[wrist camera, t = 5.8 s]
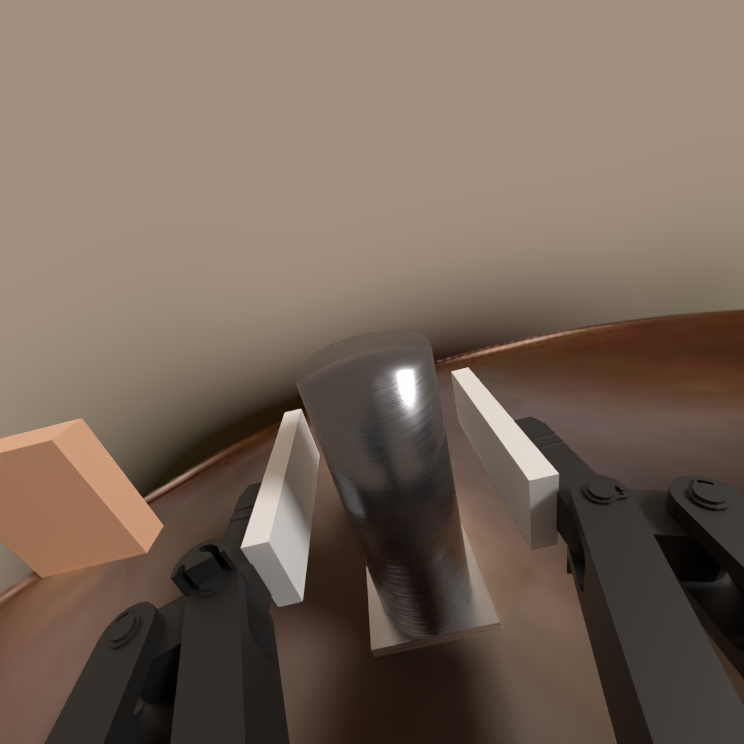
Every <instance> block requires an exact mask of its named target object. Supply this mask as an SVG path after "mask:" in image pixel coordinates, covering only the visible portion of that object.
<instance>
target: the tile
mask: <svg viewBox="0 0 744 744" xmlns="http://www.w3.org/2000/svg"><path fill="white" fill-rule="evenodd" d="M162 527H163V524H162V523H161V522H160V520H159V519H158V518H157V516H156V515H155V514H154V512H153V511H152V510H151V509H150V507H149V506H148V505H147V503H146V502H145V501H144V499H143V498H142V497H141V495H140V494H139V493H138V492H137V490H136V489H135V488H134V486H133V485H132V484H131V482H130V481H129V480H128V478H127V477H126V476H125V475H124V473H123V472H122V470H121V469H120V468H119V467H118V465H117V464H116V463H115V461H114V460H113V459H112V457H111V456H110V455H109V454H108V452H107V451H106V449H105V448H104V447H103V445H102V444H101V443H100V442H99V440H98V439H97V438H96V436H95V435H94V434H93V432H92V431H91V430H90V428H89V427H88V426H87V425H86V423H85V422H84V421H83V419H82V418H80V419H76V420H73V421H68V422H64V423H60V424H56V425H53V426H49V427H45V428H40V429H36V430H32V431H29V432H25V433H21V434H17V435H13V436H9V437H5V438H1V439H0V541H1V542H2V543H3V544H5V545H6V546H7V547H8V548H9V549H10V550H11V551H12V552H13V553H15V554H16V555H17V556H18V557H19V558H20V559H21V560H23V561H24V562H25V563H26V564H27V565H28V566H29V567H30V568H31V569H33V570H34V571H35V572H36V573H37V574H38V575H39V576H40V577H41V578H43V577H48V576H52V575H56V574H60V573H65V572H69V571H73V570H77V569H82V568H86V567H90V566H94V565H99V564H103V563H107V562H111V561H116V560H120V559H124V558H128V557H133V556H137V555H141V554H145V553H147V552H148V550H149V549H150V547H151V546H152V544H153V542H154V541H155V539H156V537H157V536H158V534H159V532H160V531H161V529H162Z"/></svg>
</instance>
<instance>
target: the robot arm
mask: <svg viewBox="0 0 744 744" xmlns="http://www.w3.org/2000/svg"><path fill="white" fill-rule="evenodd" d="M451 374H452V380H453V387H454V394H455V401H456V408H457V415H458V422H459V424H460V425H461V427H462V429H463V431H464V432H465V434H466V436H467V438H468V440H469V441H470V443H471V445H472V447H473V448H474V450H475V452H476V454H477V455H478V457H479V459H480V461H481V462H482V464H483V466H484V468H485V469H486V471H487V473H488V475H489V476H490V478H491V480H492V482H493V483H494V485H495V487H496V489H497V490H498V492H499V494H500V496H501V497H502V499H503V501H504V503H505V504H506V506H507V508H508V510H509V511H510V513H511V515H512V517H513V518H514V520H515V522H516V524H517V525H518V527H519V529H520V531H521V532H522V534H523V536H524V538H525V540H526V541H527V543H528V545H529V547H530V548H531V550H533V549H538V548H542V547H546V546H551V545H555V544H557V541H558V532H559V533H560V535H561V536H562V538H563V539H564V541H565V542H566V543H567V545H568V549H567V573H570V574H573V578H574V582H575V586H576V589H577V593H578V597H579V601H580V605H581V608H582V612H583V616H584V620H585V623H586V627H587V631H588V635H589V639H590V642H591V646H592V650H593V654H594V658H595V661H596V665H597V669H598V673H599V677H600V680H601V684H602V688H603V692H604V696H605V699H606V703H607V707H608V711H609V714H610V718H611V722H612V726H613V730H614V733H615V737H616V741H617V744H744V705H743V703H742V701H741V699H740V697H739V695H738V694H737V692H736V690H735V688H734V686H733V684H732V682H731V680H730V678H729V677H728V675H727V673H726V671H725V669H724V667H723V665H722V663H721V661H720V660H719V658H718V656H717V654H716V652H715V650H714V648H713V646H712V644H711V643H710V641H709V639H708V637H707V635H706V633H705V631H704V629H705V630H706V631H707V632H708V634H709V635H710V636H711V638H712V639H713V640H714V641H715V643H716V644H717V645H718V647H719V648H720V649H721V650H722V652H723V653H724V654H725V656H726V657H727V658H728V659H729V661H730V662H731V663H732V665H733V666H734V667H735V668H736V670H737V671H738V672H739V674H740V675H741V676H742V677H743V679H744V496H743V495H742V494H740V493H739V492H737V491H736V490H734V489H732V488H731V487H729V486H727V485H725V484H723V483H720V482H717V481H715V480H712V479H708V478H703V477H698V476H683V477H680V478H677V479H674V480H673V481H672V483H671V484H670V485H669V489H668V491H652V490H634V489H627V488H626V487H625V486H624V485H622V484H621V483H619V482H618V481H616V480H614V479H611V478H608V477H606V476H602V475H597V474H595V473H594V472H593V471H592V470H591V469H590V468H589V467H588V466H587V465H586V464H585V463H584V462H583V461H582V460H581V459H580V458H579V457H578V456H577V455H576V454H575V453H574V452H573V451H572V450H571V449H570V448H569V447H568V446H567V445H566V444H565V443H563V441H562V440H561V439H560V438H559V437H558V436H557V435H555V433H554V432H553V431H552V430H551V429H550V428H549V427H548V426H547V425H546V424H545V423H543V422H541V421H539V420H537V419H535V418H533V417H528V418H524V419H519V420H515V421H513V419H512V418H511V417H510V416H509V415H508V414H507V412H506V411H505V410H504V409H503V408H502V406H501V405H500V404H499V403H498V402H497V401H496V399H495V398H494V397H493V396H492V395H491V394H490V392H489V391H488V390H487V389H486V388H485V387H484V385H483V384H482V383H481V382H480V381H479V380H478V378H477V377H476V376H475V375H474V374H473V373H472V371H471V370H470V369H469V368H464V369H460V370H456V371H452V372H451ZM319 456H320V455H319V453H318V450H317V448H316V445H315V443H314V440H313V437H312V435H311V432H310V430H309V427H308V425H307V422H306V420H305V417H304V415H303V412H302V410H301V409H298V410H294V411H290V412H286V413H285V414H284V417H283V420H282V423H281V426H280V429H279V432H278V435H277V438H276V441H275V444H274V447H273V450H272V453H271V457H270V460H269V463H268V466H267V469H266V472H265V475H264V478H263V481H262V482H261V483H257V484H252V485H249V486H248V487H247V488H246V490H245V491H244V492H243V493H242V495H241V496H240V497H239V500H238V502H237V505H236V507H235V510H234V511H235V512H234V513H233V515H232V517H231V520H230V521H231V523H229V525H228V528H227V530H226V533H225V535H224V538H223V540H222V543H221V542H219V541H218V540H209V541H206V542H203V543H200V544H199V545H197V546H195V547H194V548H192V549H191V550H189V551H188V552H187V553H186V554H185V555H184V556H183V557H182V558H181V559H180V561H179V562H178V564H177V565H176V566H175V568H174V570H173V573H172V575H171V580H172V581H173V582H174V583H175V584H176V586H177V587H178V588H179V589H180V590H181V592H182V593H183V594H184V595H183V596H182V597H180V598H178V599H176V600H174V601H172V602H170V603H169V604H167V605H165V606H163V607H161V608H159V609H157V608H156V607H155V606H154V605H153V604H151V603H149V602H141V603H137V604H135V605H133V606H131V607H129V608H127V609H126V610H125V611H124V612H122V613H121V614H120V615H118V616H117V617H116V618H115V619H114V620H113V621H112V622H111V624H110V625H109V626H108V627H107V628H106V629H105V631H104V632H103V634H102V635H101V637H100V638H99V640H98V642H97V644H96V646H95V648H94V650H93V652H92V653H91V655H90V657H89V659H88V661H87V663H86V665H85V667H84V669H83V671H82V673H81V675H80V677H79V679H78V680H77V682H76V684H75V686H74V688H73V690H72V692H71V694H70V696H69V698H68V700H67V702H66V704H65V705H64V707H63V709H62V711H61V713H60V715H59V717H58V719H57V721H56V723H55V725H54V727H53V729H52V730H51V732H50V734H49V736H48V738H47V740H46V742H45V744H290V743H289V736H288V728H287V721H286V714H285V706H284V699H283V691H282V684H281V676H280V669H279V662H278V654H277V647H276V639H275V632H274V624H273V621H272V618H271V615H270V614H269V612H268V610H269V605H270V600H271V597H272V598H273V600H274V601H275V603H276V605H277V606H278V607H281V606H285V605H290V604H294V603H299V602H303V595H304V587H305V578H306V569H307V561H308V552H309V543H310V535H311V526H312V517H313V509H314V500H315V491H316V483H317V474H318V465H319ZM700 623H701V624H700ZM701 625H702V626H703V627H704V629H703V628H702V626H701ZM138 698H139V699H138ZM137 701H138V702H137Z"/></svg>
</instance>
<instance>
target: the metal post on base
mask: <svg viewBox="0 0 744 744" xmlns="http://www.w3.org/2000/svg"><path fill="white" fill-rule="evenodd" d="M295 382H296V384H297V387H298V390H299V392H300V395H301V397H302V400H303V403H304V405H305V407H306V410H307V413H308V416H309V418H310V421H311V423H312V426H313V428H314V431H315V434H316V436H317V439H318V441H319V444H320V447H321V449H322V452H323V454H324V457H325V460H326V462H327V465H328V467H329V470H330V472H331V475H332V478H333V480H334V483H335V485H336V488H337V491H338V493H339V496H340V498H341V501H342V504H343V506H344V509H345V511H346V514H347V516H348V519H349V522H350V524H351V527H352V529H353V532H354V535H355V537H356V540H357V542H358V545H359V548H360V550H361V553H362V555H363V558H364V560H365V563H366V571H367V588H368V605H369V622H370V639H371V651H372V653H373V655H374V657H375V658H376V657H380V656H385V655H389V654H394V653H398V652H403V651H408V650H412V649H417V648H421V647H426V646H431V645H435V644H440V643H444V642H449V641H453V640H458V639H463V638H467V637H472V636H476V635H481V634H485V633H490V632H495V631H499V630H501V629H500V621H499V619H498V616H497V614H496V611H495V608H494V606H493V603H492V601H491V598H490V595H489V593H488V590H487V588H486V585H485V583H484V580H483V577H482V575H481V572H480V570H479V567H478V564H477V562H476V559H475V557H474V554H473V552H472V549H471V546H470V544H469V541H468V539H467V536H466V533H465V531H464V528H463V526H462V523H461V521H460V515H459V509H458V503H457V497H456V491H455V485H454V479H453V473H452V467H451V461H450V455H449V449H448V443H447V437H446V431H445V425H444V419H443V413H442V407H441V401H440V395H439V389H438V383H437V377H436V371H435V365H434V359H433V353H432V347H431V343H430V341H429V339H428V338H427V337H425V336H423V335H422V334H419V333H416V332H412V331H403V330H388V331H379V332H372V333H367V334H362V335H358V336H355V337H351V338H348V339H345V340H342V341H339V342H337V343H334V344H332V345H330V346H328V347H325V348H324V349H322V350H320V351H318V352H316V353H315V354H313V355H312V356H310V357H309V358H308V359H306V360H305V361H304V362H303V363H302V364H301V365H300V367H299V368H298V369H297V371H296V373H295Z"/></svg>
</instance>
